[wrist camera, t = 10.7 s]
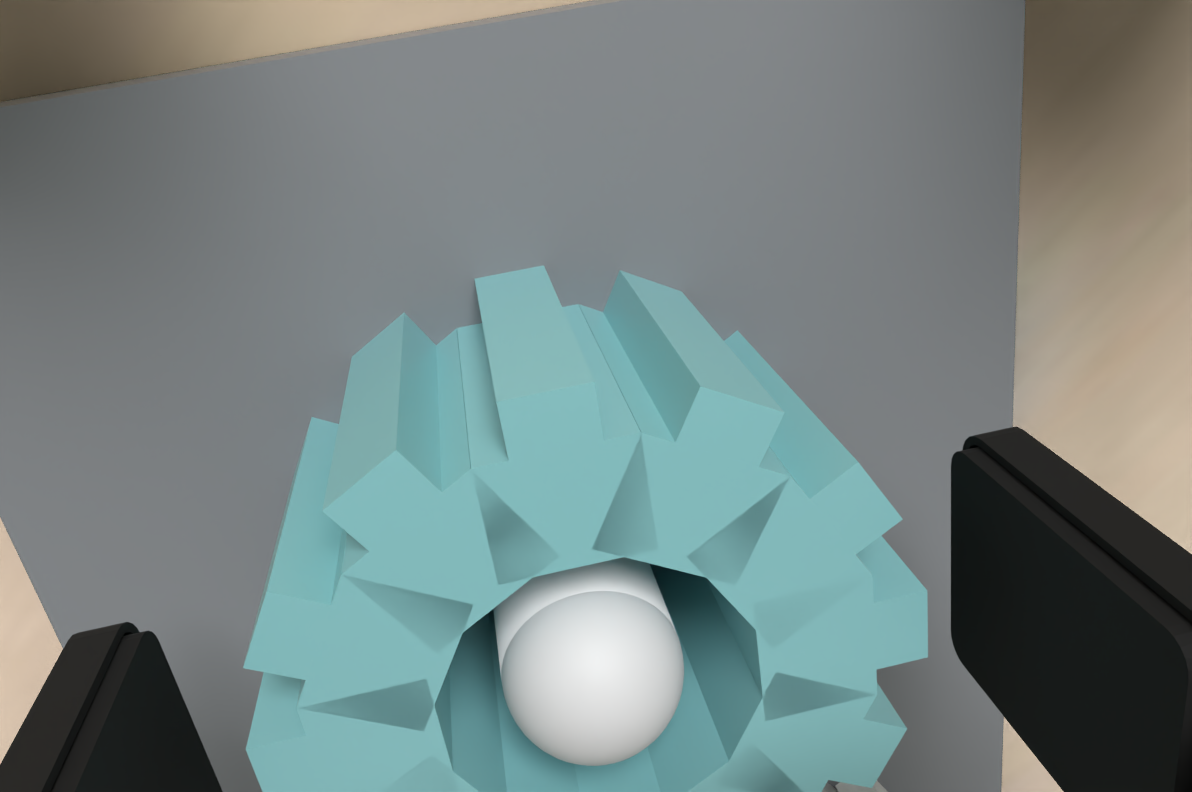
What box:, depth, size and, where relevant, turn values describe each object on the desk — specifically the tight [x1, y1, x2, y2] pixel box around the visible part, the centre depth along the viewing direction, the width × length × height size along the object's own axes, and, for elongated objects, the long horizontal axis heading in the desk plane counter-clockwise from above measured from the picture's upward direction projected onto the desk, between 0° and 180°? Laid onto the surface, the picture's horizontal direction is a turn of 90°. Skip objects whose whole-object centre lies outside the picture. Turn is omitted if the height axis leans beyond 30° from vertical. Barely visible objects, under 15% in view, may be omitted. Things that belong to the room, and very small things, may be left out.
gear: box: [243, 265, 928, 792], centre depth 12 cm, size 7×7×4 cm
